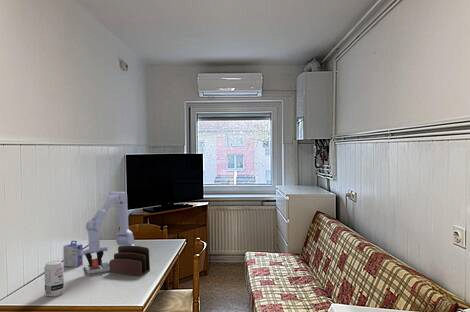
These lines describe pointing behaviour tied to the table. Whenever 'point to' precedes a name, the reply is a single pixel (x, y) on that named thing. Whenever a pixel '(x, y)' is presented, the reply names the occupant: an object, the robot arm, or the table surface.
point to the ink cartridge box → (72, 255)
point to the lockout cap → (94, 263)
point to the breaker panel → (101, 269)
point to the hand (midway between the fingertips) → (94, 265)
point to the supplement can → (54, 278)
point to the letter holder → (130, 261)
